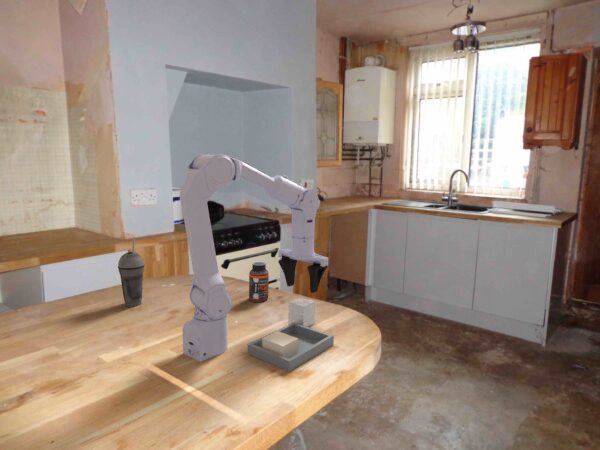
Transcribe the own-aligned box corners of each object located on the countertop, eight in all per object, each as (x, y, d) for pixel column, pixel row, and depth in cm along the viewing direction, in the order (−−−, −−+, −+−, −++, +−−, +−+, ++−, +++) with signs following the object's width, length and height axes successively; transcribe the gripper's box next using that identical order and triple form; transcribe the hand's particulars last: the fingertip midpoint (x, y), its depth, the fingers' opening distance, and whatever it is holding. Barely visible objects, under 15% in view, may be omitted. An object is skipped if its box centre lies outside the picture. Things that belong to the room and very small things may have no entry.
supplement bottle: (259, 304, 126) (259, 267, 124) (244, 299, 130) (244, 263, 128) (272, 298, 131) (272, 263, 129) (258, 294, 134) (258, 260, 133)
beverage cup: (119, 301, 126) (115, 235, 123) (145, 298, 130) (142, 234, 126) (120, 309, 120) (116, 240, 117) (147, 306, 123) (144, 238, 120)
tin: (303, 332, 107) (303, 306, 106) (288, 327, 110) (288, 301, 109) (314, 326, 111) (314, 301, 109) (299, 322, 113) (300, 297, 112)
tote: (289, 375, 86) (289, 361, 86) (247, 357, 94) (247, 344, 93) (333, 347, 99) (333, 335, 98) (293, 333, 106) (293, 322, 106)
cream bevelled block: (283, 364, 89) (283, 346, 89) (262, 355, 93) (262, 338, 92) (297, 355, 93) (298, 338, 92) (277, 347, 97) (277, 330, 96)
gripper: (336, 238, 105) (334, 290, 107) (290, 230, 114) (290, 279, 116) (319, 242, 99) (318, 297, 102) (273, 234, 108) (272, 285, 110)
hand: (302, 288), depth 108 cm, fingers open, 7 cm apart
